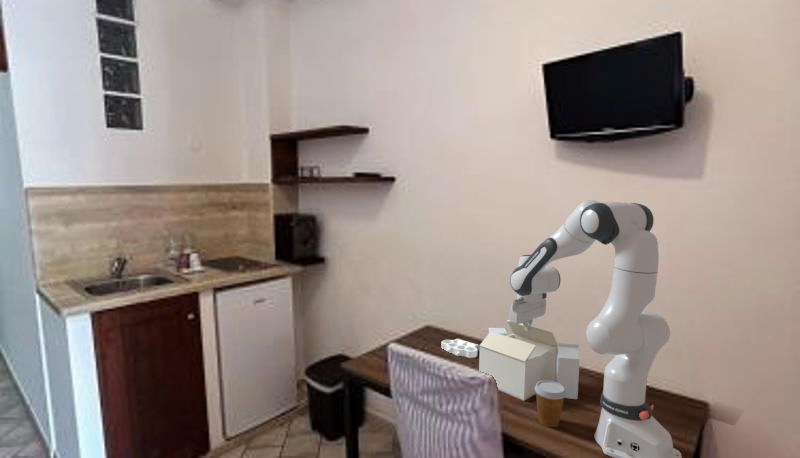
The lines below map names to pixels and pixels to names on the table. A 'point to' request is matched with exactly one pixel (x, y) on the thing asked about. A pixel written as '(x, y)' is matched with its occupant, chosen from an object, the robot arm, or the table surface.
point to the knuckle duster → (460, 347)
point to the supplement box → (498, 331)
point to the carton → (519, 368)
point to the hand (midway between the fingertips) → (527, 330)
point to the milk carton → (567, 368)
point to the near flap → (508, 346)
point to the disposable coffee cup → (549, 402)
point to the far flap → (533, 333)
